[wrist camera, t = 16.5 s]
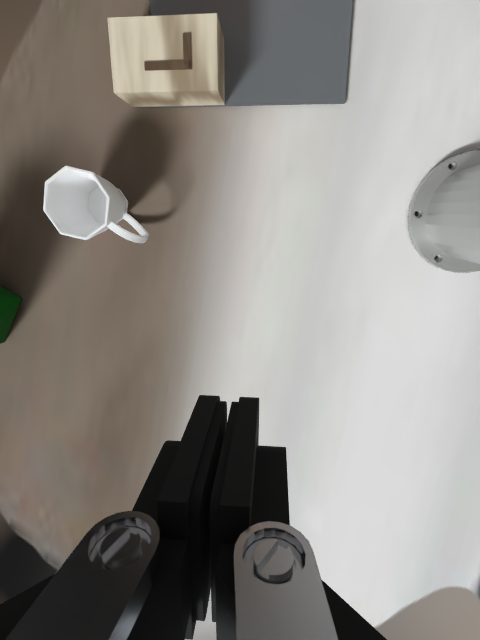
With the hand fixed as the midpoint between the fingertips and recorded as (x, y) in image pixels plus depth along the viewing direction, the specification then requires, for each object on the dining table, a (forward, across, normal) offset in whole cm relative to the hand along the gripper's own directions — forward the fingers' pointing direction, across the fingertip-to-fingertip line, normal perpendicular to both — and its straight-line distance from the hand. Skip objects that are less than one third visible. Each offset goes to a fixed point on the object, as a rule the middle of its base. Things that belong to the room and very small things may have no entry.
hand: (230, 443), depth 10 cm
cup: (+35, +17, -6) cm, 40 cm away
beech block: (+32, +4, -20) cm, 38 cm away
